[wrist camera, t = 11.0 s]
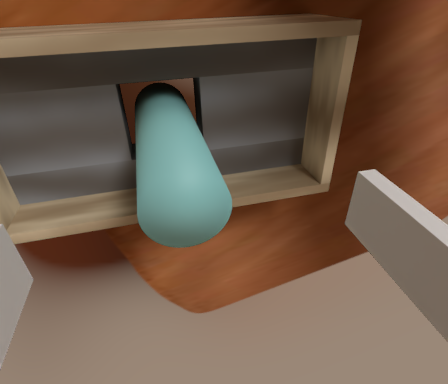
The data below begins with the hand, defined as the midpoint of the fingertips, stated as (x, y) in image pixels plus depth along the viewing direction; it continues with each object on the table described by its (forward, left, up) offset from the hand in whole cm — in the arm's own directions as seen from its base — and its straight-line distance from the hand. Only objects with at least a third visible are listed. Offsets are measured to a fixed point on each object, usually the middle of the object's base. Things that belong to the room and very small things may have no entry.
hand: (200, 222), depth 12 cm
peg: (0, 0, -15) cm, 15 cm away
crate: (0, 0, -15) cm, 15 cm away
